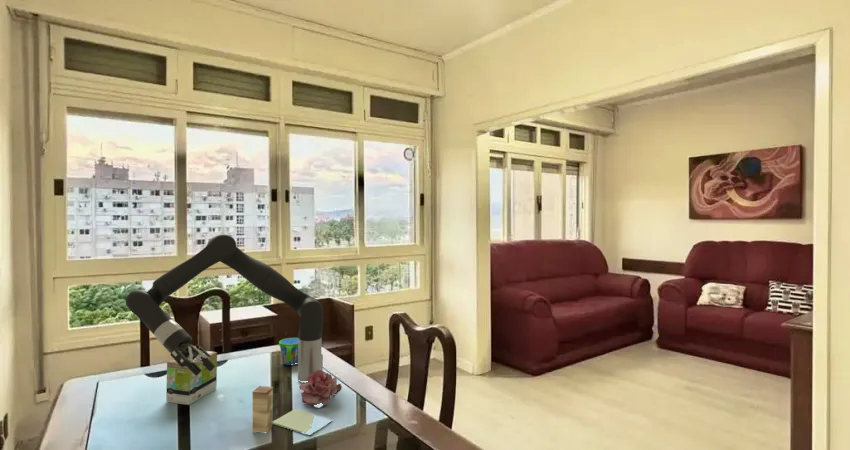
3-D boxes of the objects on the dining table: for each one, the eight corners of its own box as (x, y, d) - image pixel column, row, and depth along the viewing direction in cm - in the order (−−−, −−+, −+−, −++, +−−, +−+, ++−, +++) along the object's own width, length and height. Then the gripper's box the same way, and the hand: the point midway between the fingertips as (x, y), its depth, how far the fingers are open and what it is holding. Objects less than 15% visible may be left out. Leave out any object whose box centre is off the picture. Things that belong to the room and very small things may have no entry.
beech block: (259, 425, 149) (259, 385, 148) (272, 426, 148) (272, 386, 148) (252, 432, 144) (252, 391, 144) (266, 433, 144) (266, 392, 143)
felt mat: (295, 410, 160) (295, 408, 160) (332, 421, 153) (332, 419, 153) (271, 423, 150) (271, 422, 150) (310, 436, 143) (310, 434, 143)
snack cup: (284, 357, 212) (284, 335, 212) (307, 357, 212) (307, 335, 212) (274, 369, 197) (274, 346, 196) (298, 370, 197) (299, 346, 196)
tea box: (190, 405, 161) (190, 364, 160) (165, 402, 163) (165, 361, 162) (217, 388, 176) (217, 350, 175) (194, 385, 178) (194, 348, 177)
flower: (295, 386, 173) (300, 364, 170) (334, 386, 178) (339, 365, 176) (298, 414, 160) (303, 391, 157) (339, 413, 165) (345, 391, 162)
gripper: (168, 329, 145) (202, 365, 143) (192, 326, 159) (224, 359, 157) (151, 347, 144) (185, 384, 142) (177, 343, 158) (209, 376, 156)
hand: (206, 371), depth 149 cm, fingers open, 8 cm apart
